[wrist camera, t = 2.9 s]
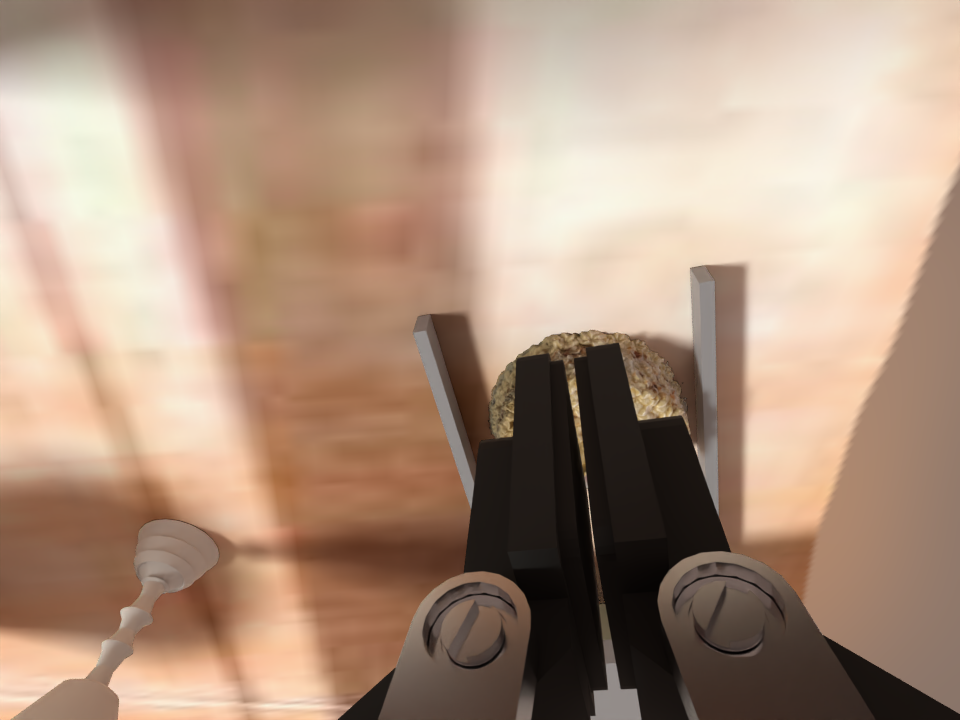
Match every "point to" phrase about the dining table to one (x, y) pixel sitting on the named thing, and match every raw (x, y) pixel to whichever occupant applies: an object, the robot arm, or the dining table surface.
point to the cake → (643, 370)
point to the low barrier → (619, 706)
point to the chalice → (132, 618)
